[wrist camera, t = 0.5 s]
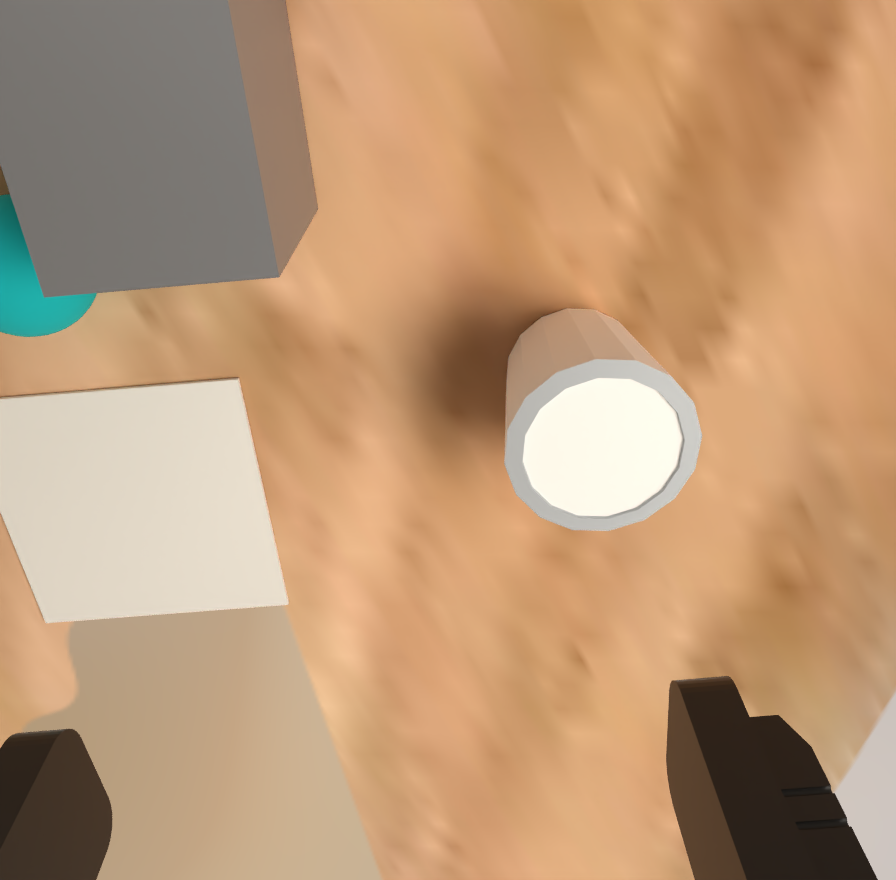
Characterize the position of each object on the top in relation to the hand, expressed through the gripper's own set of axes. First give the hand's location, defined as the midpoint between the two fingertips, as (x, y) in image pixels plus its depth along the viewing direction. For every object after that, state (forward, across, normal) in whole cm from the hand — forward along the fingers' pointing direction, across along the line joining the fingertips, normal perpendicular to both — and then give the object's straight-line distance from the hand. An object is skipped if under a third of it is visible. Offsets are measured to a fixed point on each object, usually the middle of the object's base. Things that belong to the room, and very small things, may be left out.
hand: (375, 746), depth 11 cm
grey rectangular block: (+24, +7, -8) cm, 26 cm away
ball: (+21, +14, -2) cm, 25 cm away
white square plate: (+23, +14, +10) cm, 29 cm away
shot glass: (+24, -6, +6) cm, 25 cm away
